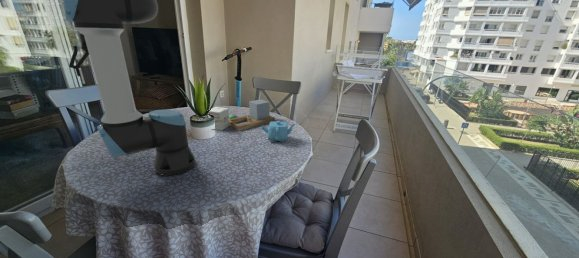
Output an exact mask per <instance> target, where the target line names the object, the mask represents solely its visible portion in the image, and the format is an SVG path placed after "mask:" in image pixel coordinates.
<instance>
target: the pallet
mask: <svg viewBox="0 0 579 258" xmlns="http://www.w3.org/2000/svg"><path fill="white" fill-rule="evenodd" d="M245 121H246V122H247V123H243V124H237V123H242V122H245ZM270 122H276V117H275V116H272V115H270V114H269V118H266V119H262V120H258V121H256V120H254V119H252V118H250V114H247V115H243V116H238V117H237V118H233V119H229V127H232V128H233V129H235V130H237V131H239V132H240V131H245V130H248V129H251V128H255V127H256V128H257V127H260V126H265V125H267V124H270Z"/></svg>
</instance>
